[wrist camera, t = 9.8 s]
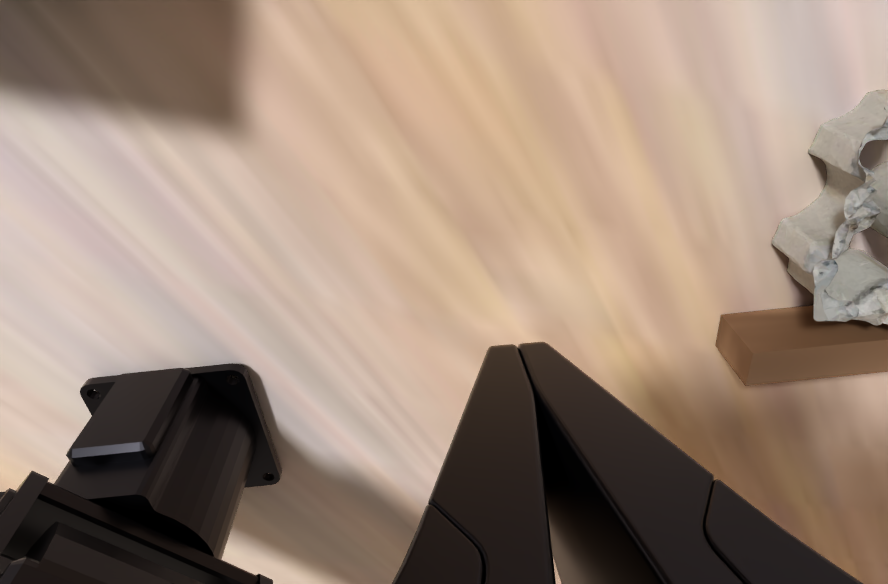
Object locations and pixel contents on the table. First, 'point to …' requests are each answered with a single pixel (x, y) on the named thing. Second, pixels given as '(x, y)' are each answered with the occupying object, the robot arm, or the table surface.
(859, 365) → the frame
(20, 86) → the table surface
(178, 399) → the robot arm
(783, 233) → the egg carton
